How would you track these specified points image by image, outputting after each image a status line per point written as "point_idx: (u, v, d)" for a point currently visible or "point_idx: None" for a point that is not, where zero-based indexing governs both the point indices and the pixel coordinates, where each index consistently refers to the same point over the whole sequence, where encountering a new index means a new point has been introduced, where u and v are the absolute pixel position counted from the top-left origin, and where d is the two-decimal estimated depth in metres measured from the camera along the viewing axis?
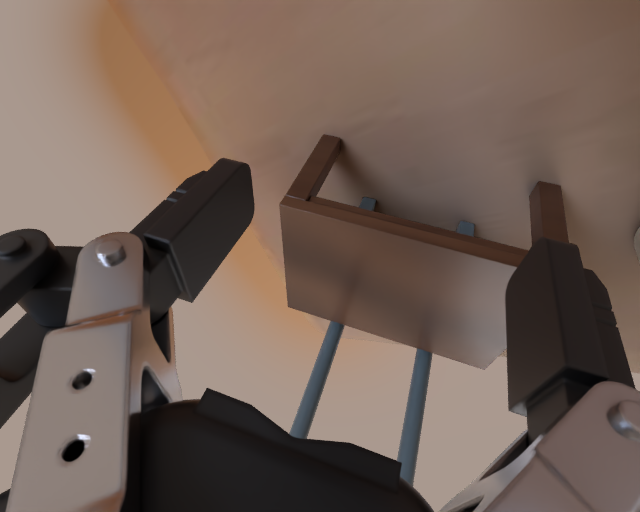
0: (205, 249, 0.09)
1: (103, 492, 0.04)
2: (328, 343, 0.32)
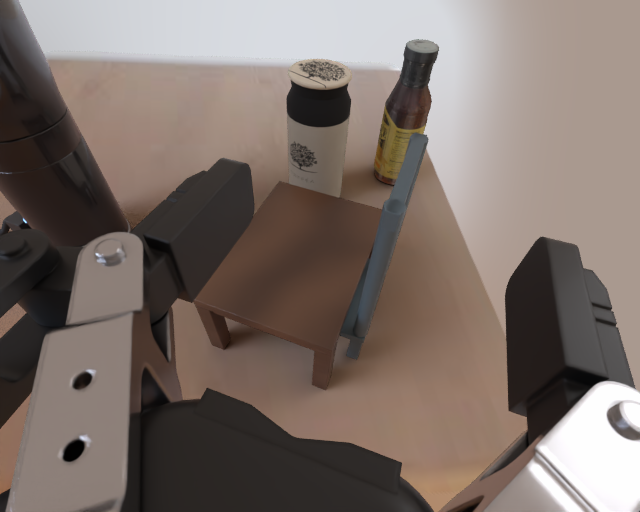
0: (205, 249, 0.09)
1: (103, 492, 0.04)
2: (361, 296, 0.29)
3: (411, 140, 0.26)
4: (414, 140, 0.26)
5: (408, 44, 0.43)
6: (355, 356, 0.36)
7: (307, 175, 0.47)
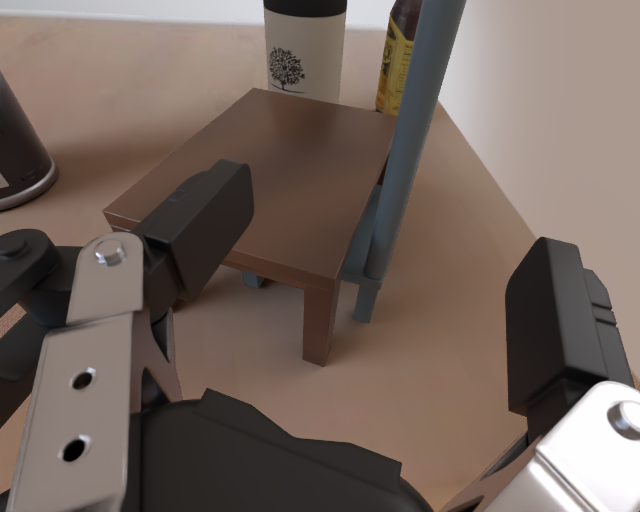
0: (205, 249, 0.09)
1: (102, 493, 0.04)
2: (380, 194, 0.18)
3: None
4: None
5: None
6: (366, 317, 0.24)
7: None
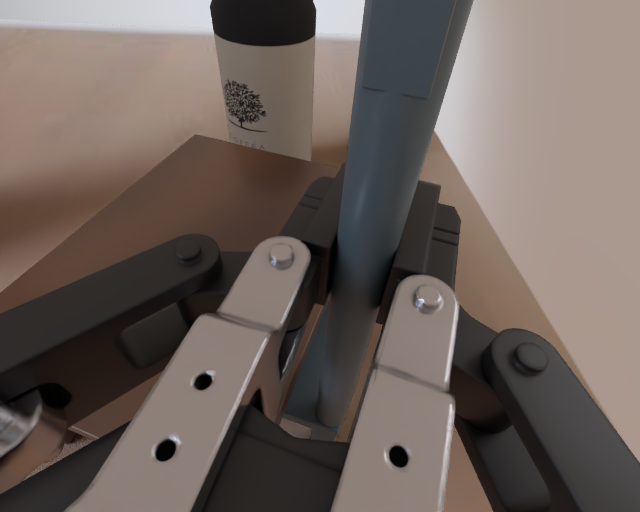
0: None
1: None
2: None
3: None
4: None
5: None
6: None
7: (254, 137, 0.30)
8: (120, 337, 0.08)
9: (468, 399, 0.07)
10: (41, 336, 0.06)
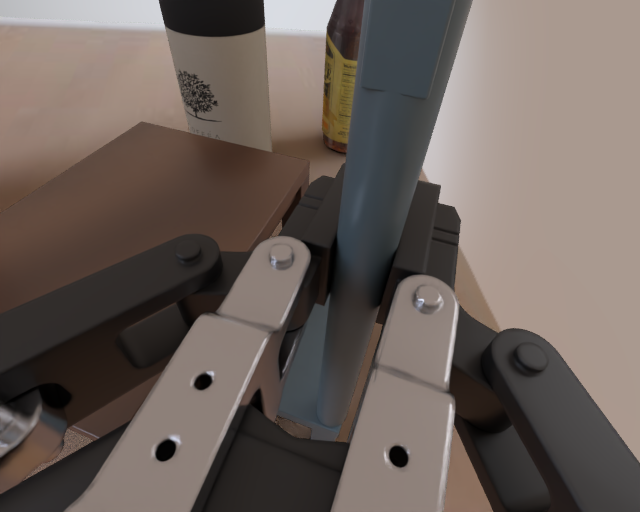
0: None
1: None
2: None
3: None
4: None
5: None
6: None
7: (208, 126, 0.31)
8: (120, 337, 0.08)
9: (468, 399, 0.07)
10: (41, 336, 0.06)
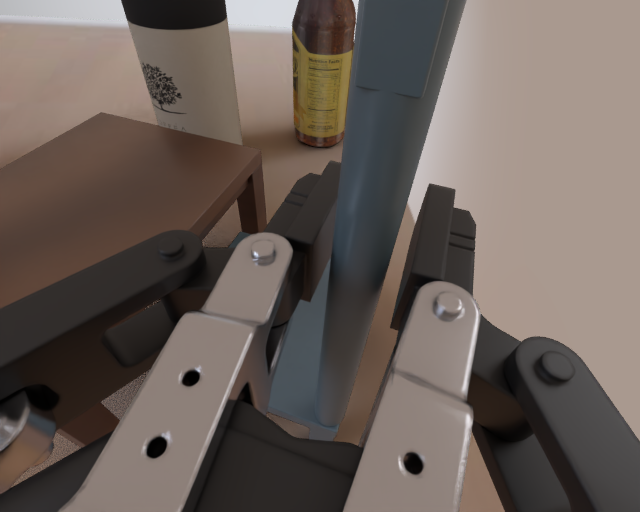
0: (324, 250, 0.09)
1: (159, 511, 0.04)
2: (322, 345, 0.12)
3: None
4: None
5: None
6: None
7: (174, 119, 0.32)
8: (106, 337, 0.08)
9: (489, 408, 0.06)
10: (25, 337, 0.06)
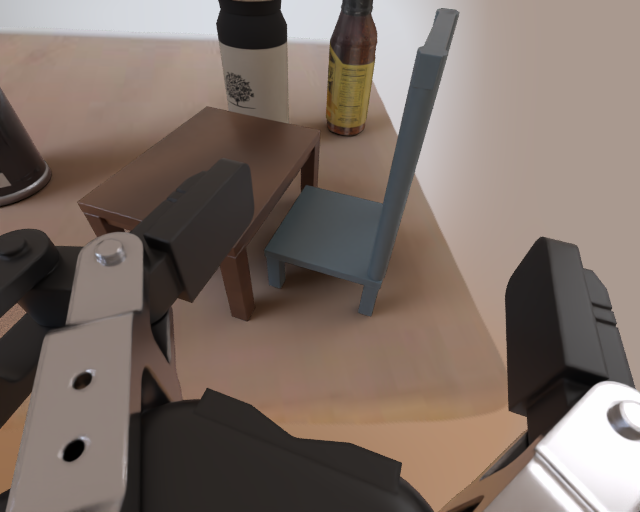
0: (205, 249, 0.09)
1: (102, 493, 0.04)
2: (380, 217, 0.24)
3: (439, 12, 0.21)
4: (442, 12, 0.21)
5: None
6: (369, 311, 0.30)
7: (246, 112, 0.44)
8: None
9: None
10: None
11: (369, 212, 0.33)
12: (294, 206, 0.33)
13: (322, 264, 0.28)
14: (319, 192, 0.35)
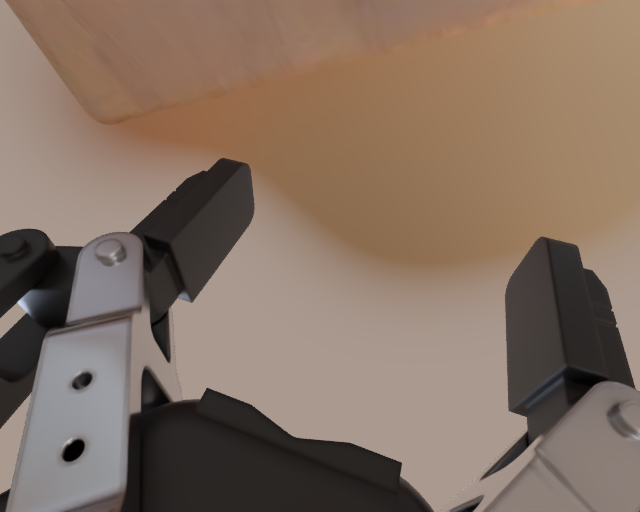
0: (205, 249, 0.09)
1: (102, 492, 0.04)
2: None
3: None
4: None
5: None
6: None
7: None
8: None
9: None
10: None
11: None
12: None
13: None
14: None
